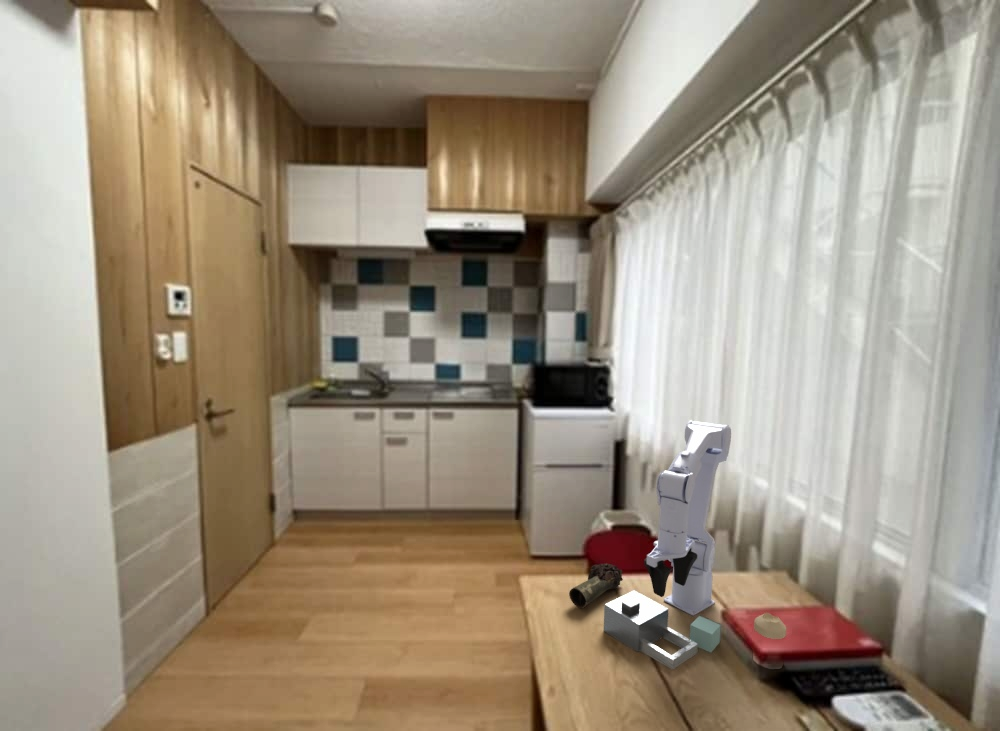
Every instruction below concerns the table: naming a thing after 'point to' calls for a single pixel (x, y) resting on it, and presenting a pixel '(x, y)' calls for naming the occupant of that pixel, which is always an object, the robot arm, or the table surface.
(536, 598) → the table surface
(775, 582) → the table surface
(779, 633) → the candle
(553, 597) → the table surface
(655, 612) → the silver box with frame
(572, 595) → the olive hollow tube
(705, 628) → the mint cube
